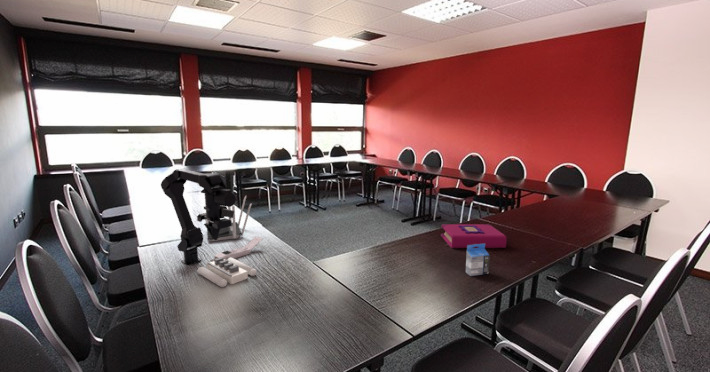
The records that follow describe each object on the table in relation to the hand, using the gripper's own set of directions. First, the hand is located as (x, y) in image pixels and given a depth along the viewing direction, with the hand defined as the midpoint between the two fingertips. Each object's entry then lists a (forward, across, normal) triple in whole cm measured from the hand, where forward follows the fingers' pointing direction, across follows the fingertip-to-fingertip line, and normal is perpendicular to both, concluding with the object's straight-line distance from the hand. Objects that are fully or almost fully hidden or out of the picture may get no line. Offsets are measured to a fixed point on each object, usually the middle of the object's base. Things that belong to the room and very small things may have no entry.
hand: (215, 239), depth 142 cm
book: (+14, -69, -107) cm, 128 cm away
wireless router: (+13, +40, -28) cm, 50 cm away
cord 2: (+13, -8, -6) cm, 17 cm away
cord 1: (+13, -8, +6) cm, 17 cm away
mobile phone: (+14, +7, -14) cm, 21 cm away
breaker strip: (+13, -8, 0) cm, 15 cm away
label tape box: (+13, -86, -70) cm, 112 cm away
